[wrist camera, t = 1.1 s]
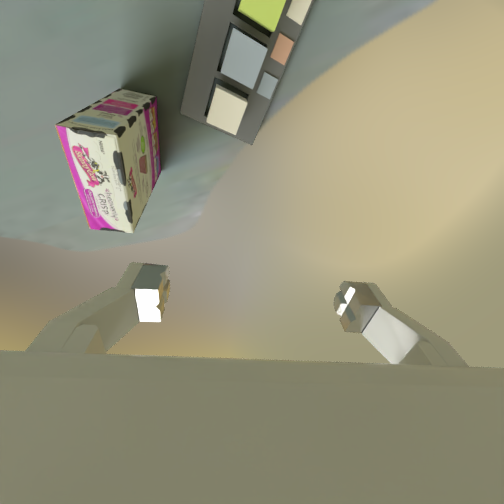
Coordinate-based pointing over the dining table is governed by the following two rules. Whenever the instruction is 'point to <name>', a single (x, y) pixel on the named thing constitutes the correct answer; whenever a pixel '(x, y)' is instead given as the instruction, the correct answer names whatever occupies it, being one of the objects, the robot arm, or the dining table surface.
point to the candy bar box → (113, 157)
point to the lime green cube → (263, 11)
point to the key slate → (243, 59)
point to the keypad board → (205, 70)
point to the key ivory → (226, 109)
